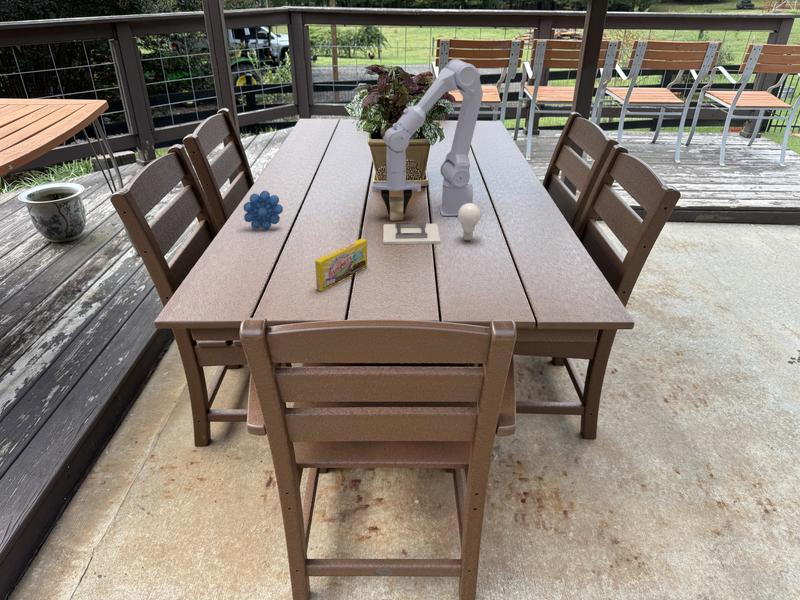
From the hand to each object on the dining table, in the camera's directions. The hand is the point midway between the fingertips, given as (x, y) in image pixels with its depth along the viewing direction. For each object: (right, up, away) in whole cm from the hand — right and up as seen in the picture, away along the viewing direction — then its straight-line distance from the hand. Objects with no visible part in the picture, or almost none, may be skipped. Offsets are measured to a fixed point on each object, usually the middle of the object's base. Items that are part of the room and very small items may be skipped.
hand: (396, 213), depth 168 cm
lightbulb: (+20, -10, -12) cm, 26 cm away
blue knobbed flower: (-39, -5, -5) cm, 40 cm away
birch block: (0, -1, +1) cm, 1 cm away
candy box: (-13, -22, -31) cm, 40 cm away
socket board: (+4, -8, -9) cm, 13 cm away
